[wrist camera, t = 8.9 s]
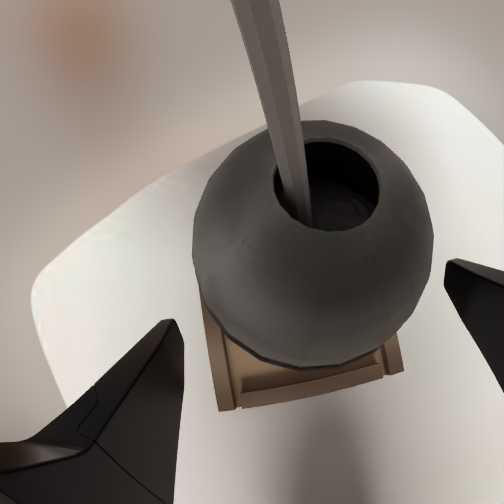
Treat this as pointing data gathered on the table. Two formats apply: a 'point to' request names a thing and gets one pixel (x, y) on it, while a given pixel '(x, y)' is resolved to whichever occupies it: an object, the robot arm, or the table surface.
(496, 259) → the table surface
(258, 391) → the walnut tray
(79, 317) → the table surface
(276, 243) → the beverage cup
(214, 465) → the table surface
